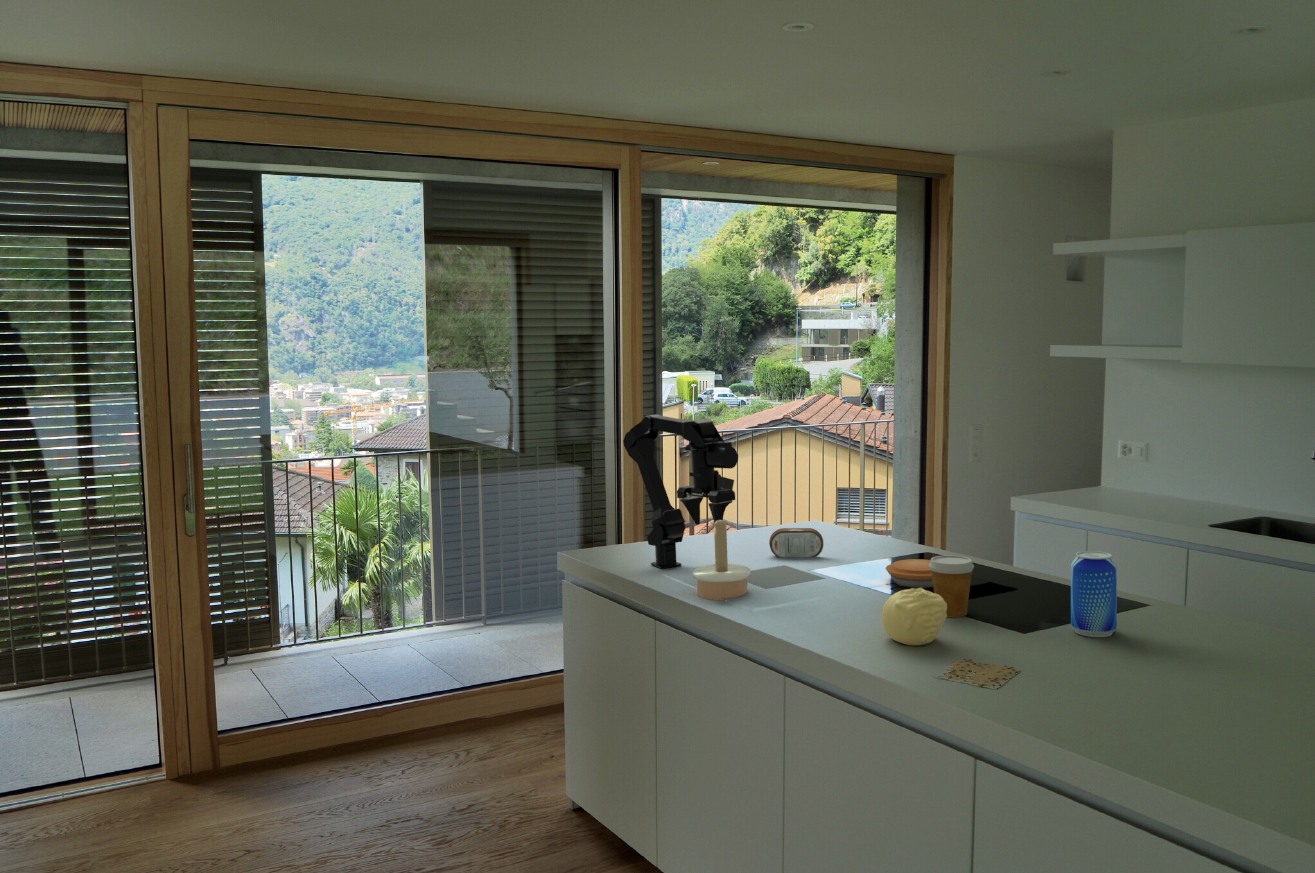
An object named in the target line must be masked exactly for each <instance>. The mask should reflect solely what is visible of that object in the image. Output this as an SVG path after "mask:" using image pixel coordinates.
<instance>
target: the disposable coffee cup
mask: <svg viewBox="0 0 1315 873" xmlns="http://www.w3.org/2000/svg"><path fill="white" fill-rule="evenodd" d="M930 560H931V561H930V564H929V567H930V569H931V574H932V580H933V587H932V588H933V593H935V594H938V595H940V596H941V597H942V598H943V599H944V601H945V602H946V604H947V611H946V614H947V617H946V618H961V617H965V616H967V614H968V606H969V599H970V598H969V597H970V590H971V582H972V575H973V574H972V573H973V570H974V568H975V565H974V564H973V560H972V558H970V557H967V556H963V555H951V554H949V555H945V554H944V555H937V556H933V557H931V558H930Z"/></svg>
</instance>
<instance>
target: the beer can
mask: <svg viewBox="0 0 1315 873" xmlns="http://www.w3.org/2000/svg"><path fill="white" fill-rule="evenodd" d="M1075 555H1076V556H1075V558H1074V559H1073V560H1072V562H1071V564H1070V626H1071V627H1072V628H1073V630H1074V632H1075V633H1076V634H1077V635H1080V636H1084V637H1089V638H1090V637H1091V638H1107V637H1111V636H1112V635H1113V633H1114V632H1115V631H1116V629H1117V626H1118V624H1117V620H1118V619H1117V617H1118V616H1117V614H1118V612H1117V609H1118V607H1117V603H1118V602H1117V597H1118V592H1117V591H1118V589H1117V587H1118V585H1117V584H1118V578H1117V577H1118V576H1117V575H1118V571H1117V570H1118V567H1117V564H1116V563H1115V561H1114V560H1113V558H1112V557H1113V556H1112V554H1111V553H1108V552H1105V551H1098V550H1097V551H1096V550H1083V551H1077V552H1076V553H1075Z"/></svg>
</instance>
